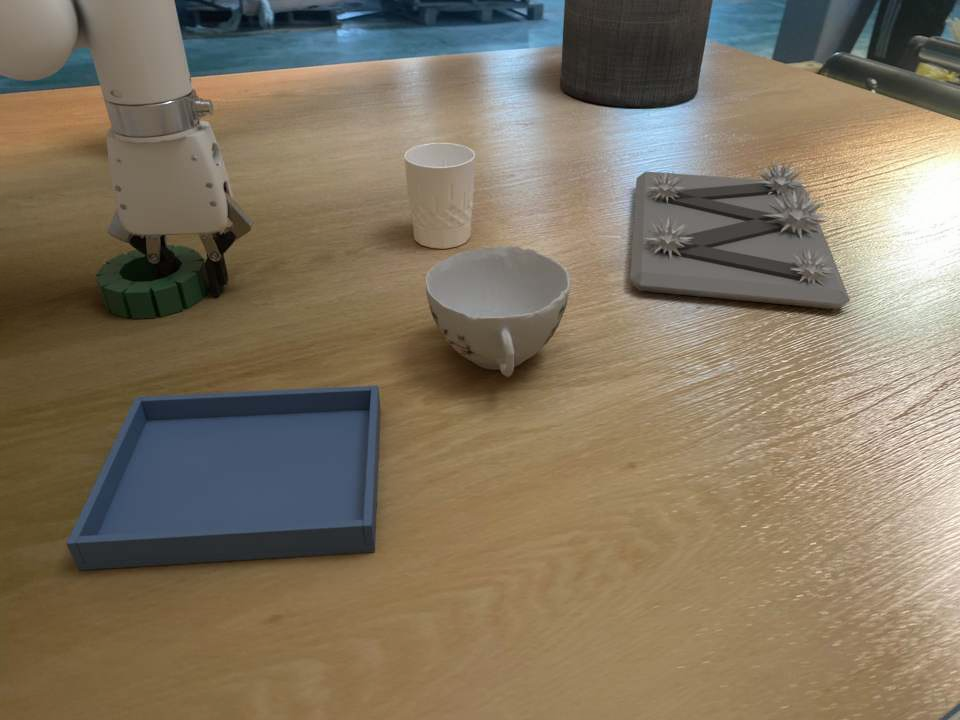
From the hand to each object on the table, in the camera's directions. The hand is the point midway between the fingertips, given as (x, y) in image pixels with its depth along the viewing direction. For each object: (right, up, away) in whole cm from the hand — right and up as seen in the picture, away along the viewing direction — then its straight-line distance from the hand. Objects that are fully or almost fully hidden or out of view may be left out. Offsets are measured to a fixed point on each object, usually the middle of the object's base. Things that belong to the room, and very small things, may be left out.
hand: (196, 289), depth 79 cm
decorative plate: (+58, +6, +10) cm, 59 cm away
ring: (-4, 0, 0) cm, 4 cm away
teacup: (+31, -8, -10) cm, 34 cm away
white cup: (+25, +7, +11) cm, 28 cm away
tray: (+12, -16, -23) cm, 31 cm away
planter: (+57, +43, +63) cm, 95 cm away
